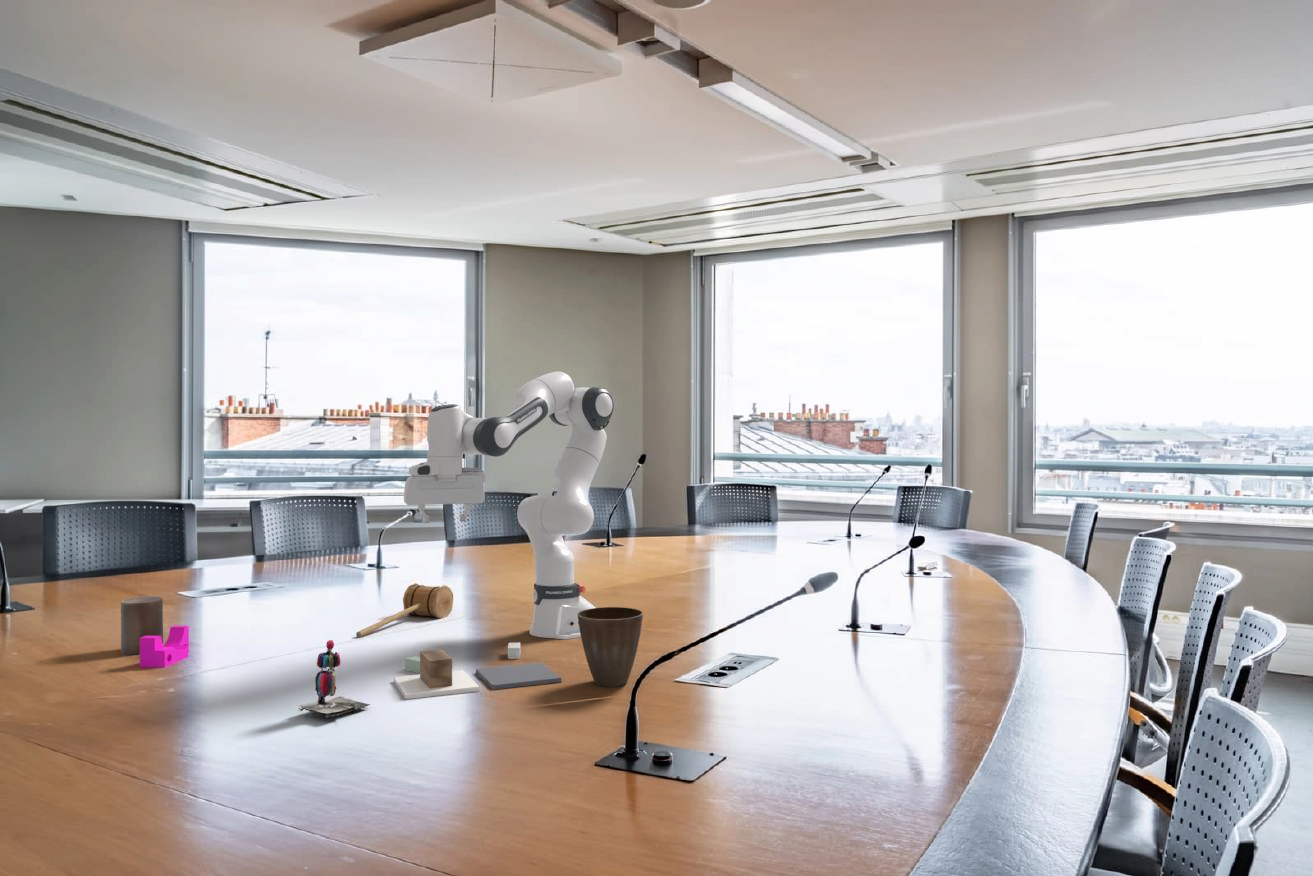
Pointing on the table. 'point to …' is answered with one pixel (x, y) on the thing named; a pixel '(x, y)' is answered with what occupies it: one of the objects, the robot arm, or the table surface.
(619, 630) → the plant pot
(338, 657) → the statue
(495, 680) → the charcoal mat
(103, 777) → the table surface
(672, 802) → the table surface
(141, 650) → the magenta cradle bracket
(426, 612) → the mallet
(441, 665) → the walnut brick
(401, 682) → the off-white mat
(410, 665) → the sage brick
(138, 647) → the pillar candle
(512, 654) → the pale grey brick
